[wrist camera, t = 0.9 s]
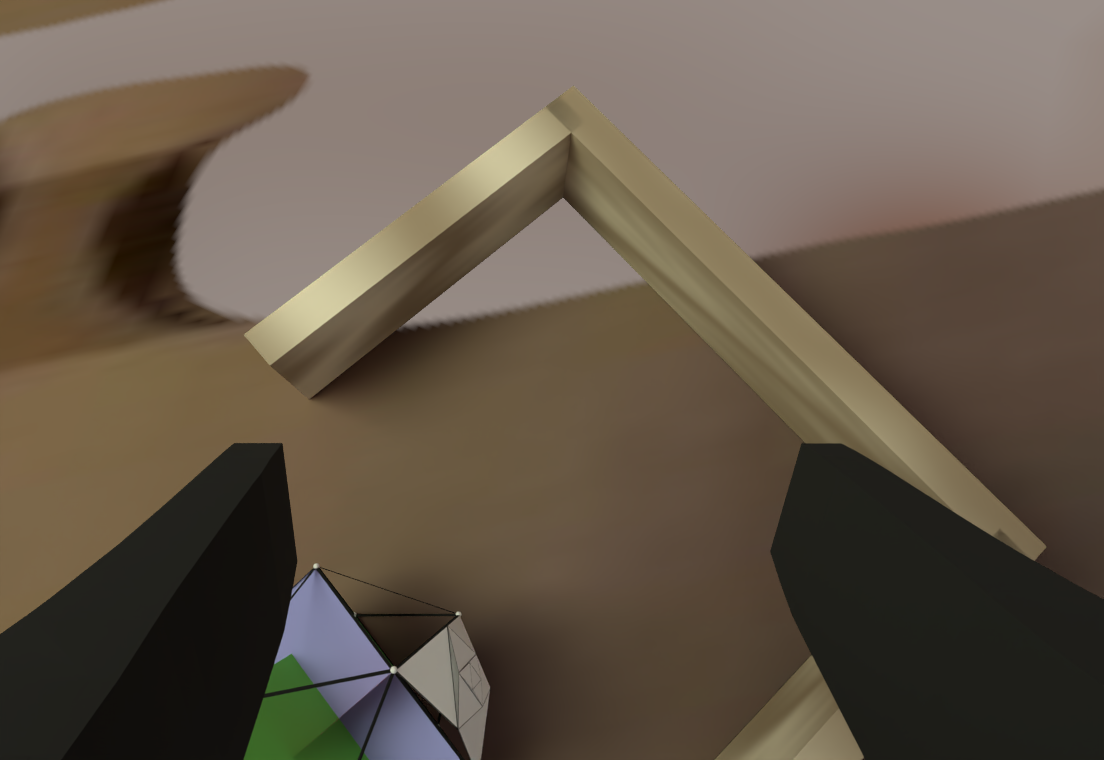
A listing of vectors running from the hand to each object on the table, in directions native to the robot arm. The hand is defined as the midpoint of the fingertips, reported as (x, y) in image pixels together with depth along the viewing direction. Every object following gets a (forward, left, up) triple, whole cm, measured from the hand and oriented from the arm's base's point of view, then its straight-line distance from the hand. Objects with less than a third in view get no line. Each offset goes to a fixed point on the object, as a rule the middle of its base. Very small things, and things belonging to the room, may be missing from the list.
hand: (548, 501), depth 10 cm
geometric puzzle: (-7, 0, -14) cm, 15 cm away
